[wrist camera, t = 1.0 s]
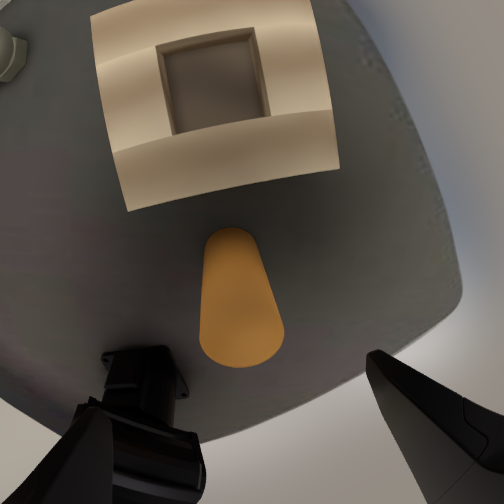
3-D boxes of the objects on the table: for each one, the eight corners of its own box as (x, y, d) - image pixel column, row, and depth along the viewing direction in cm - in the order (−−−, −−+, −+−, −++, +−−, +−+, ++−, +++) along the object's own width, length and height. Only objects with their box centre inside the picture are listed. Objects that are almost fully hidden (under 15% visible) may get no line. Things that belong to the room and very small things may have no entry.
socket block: (322, 161, 19) (339, 168, 16) (140, 198, 18) (128, 211, 16) (290, -6, 14) (303, -24, 11) (107, 29, 13) (90, 16, 11)
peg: (261, 270, 21) (288, 358, 13) (211, 280, 21) (211, 373, 13) (252, 222, 20) (278, 294, 12) (198, 233, 20) (188, 312, 12)
